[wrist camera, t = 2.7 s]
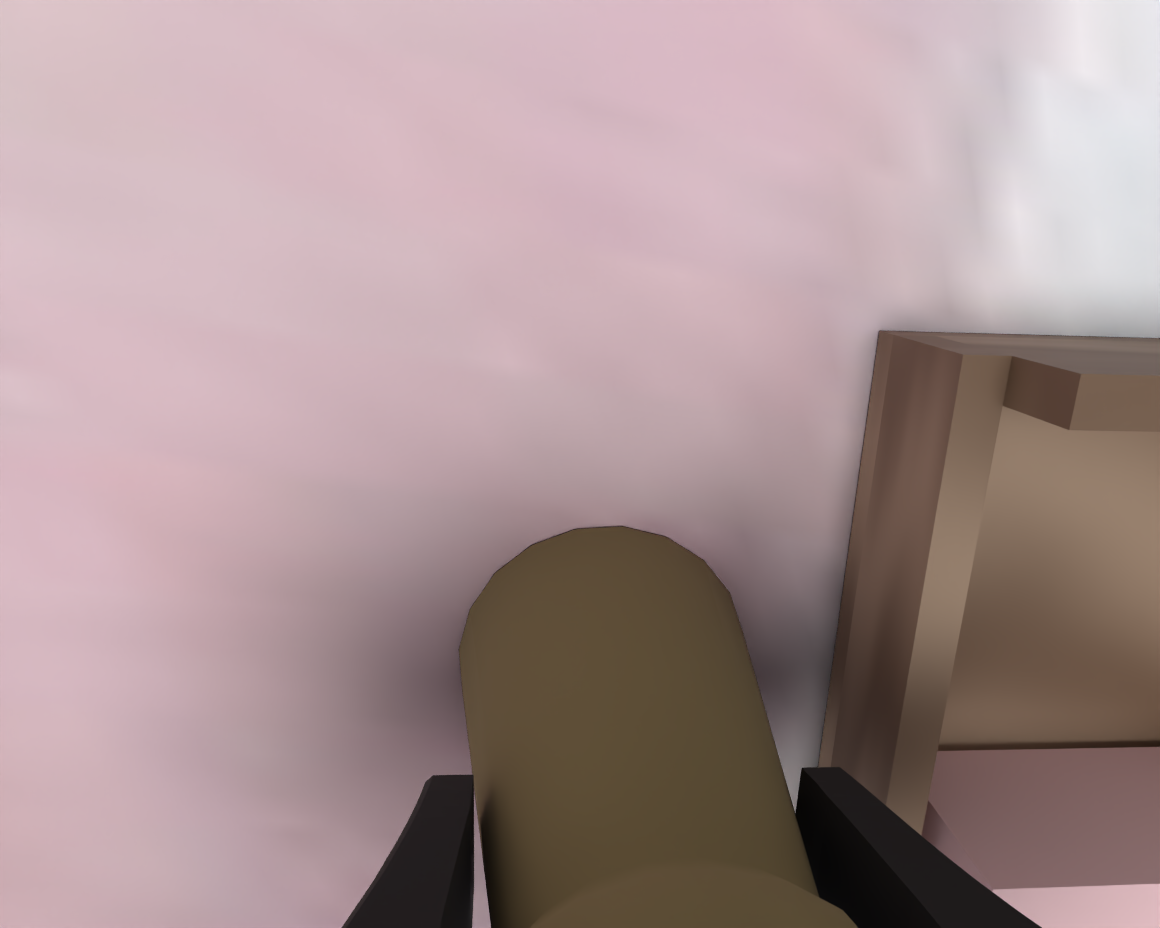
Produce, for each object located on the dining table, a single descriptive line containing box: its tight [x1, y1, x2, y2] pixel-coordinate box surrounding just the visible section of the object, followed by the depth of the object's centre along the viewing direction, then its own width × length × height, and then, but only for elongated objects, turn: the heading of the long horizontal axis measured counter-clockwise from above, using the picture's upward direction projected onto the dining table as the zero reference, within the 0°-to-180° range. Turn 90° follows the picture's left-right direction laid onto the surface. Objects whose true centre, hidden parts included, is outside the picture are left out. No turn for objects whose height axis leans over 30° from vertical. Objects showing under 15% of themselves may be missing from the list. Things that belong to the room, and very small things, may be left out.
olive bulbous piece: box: [459, 526, 858, 928], centre depth 12 cm, size 6×6×11 cm
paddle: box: [921, 747, 1160, 928], centre depth 16 cm, size 1×8×4 cm, turn 88°
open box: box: [818, 331, 1160, 835], centre depth 16 cm, size 15×10×5 cm, turn 178°
